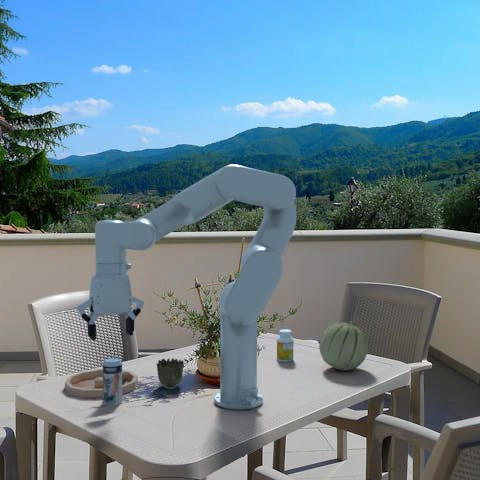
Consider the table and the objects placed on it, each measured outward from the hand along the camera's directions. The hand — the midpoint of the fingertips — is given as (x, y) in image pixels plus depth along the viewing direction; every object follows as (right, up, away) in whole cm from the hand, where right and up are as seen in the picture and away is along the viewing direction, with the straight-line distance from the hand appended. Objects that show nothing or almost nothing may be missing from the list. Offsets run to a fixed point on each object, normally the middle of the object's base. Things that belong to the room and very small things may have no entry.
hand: (111, 336), depth 154 cm
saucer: (-6, -17, +14) cm, 23 cm away
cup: (+13, -17, +14) cm, 26 cm away
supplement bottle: (+47, -15, +45) cm, 67 cm away
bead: (-1, -16, +16) cm, 23 cm away
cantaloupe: (+64, -16, +34) cm, 75 cm away
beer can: (0, -18, +1) cm, 18 cm away
